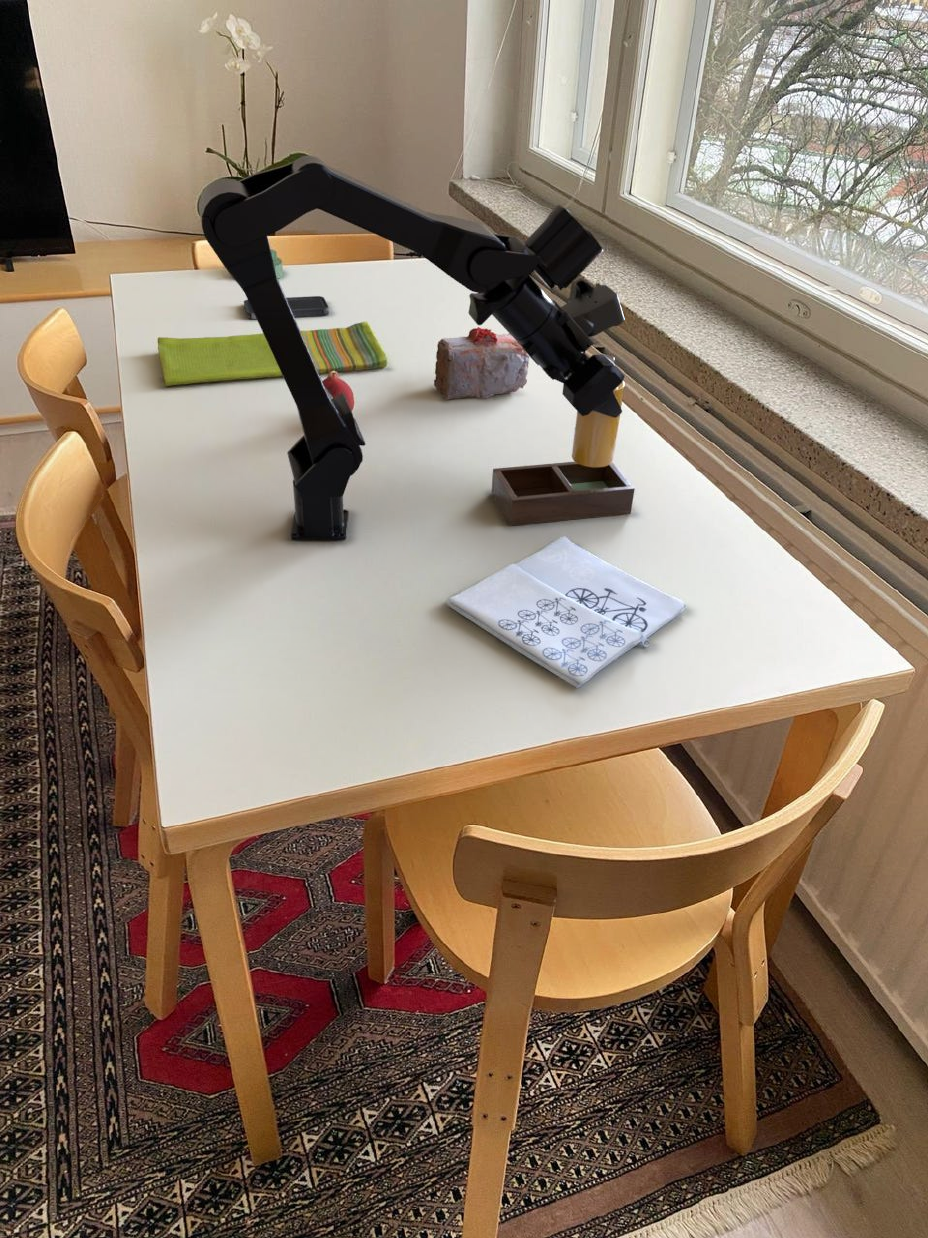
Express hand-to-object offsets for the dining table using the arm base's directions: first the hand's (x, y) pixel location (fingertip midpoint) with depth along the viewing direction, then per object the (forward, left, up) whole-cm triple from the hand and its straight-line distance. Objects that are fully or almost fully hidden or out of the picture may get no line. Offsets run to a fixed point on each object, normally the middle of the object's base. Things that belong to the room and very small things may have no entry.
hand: (610, 405), depth 113 cm
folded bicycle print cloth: (-25, +7, -13) cm, 29 cm away
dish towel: (+45, +46, -13) cm, 66 cm away
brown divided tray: (-1, +5, -13) cm, 14 cm away
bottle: (0, +1, -7) cm, 7 cm away
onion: (+21, +35, -13) cm, 43 cm away
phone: (+70, +47, -13) cm, 86 cm away
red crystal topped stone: (+34, +13, -13) cm, 39 cm away
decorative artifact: (+92, +55, -13) cm, 108 cm away
